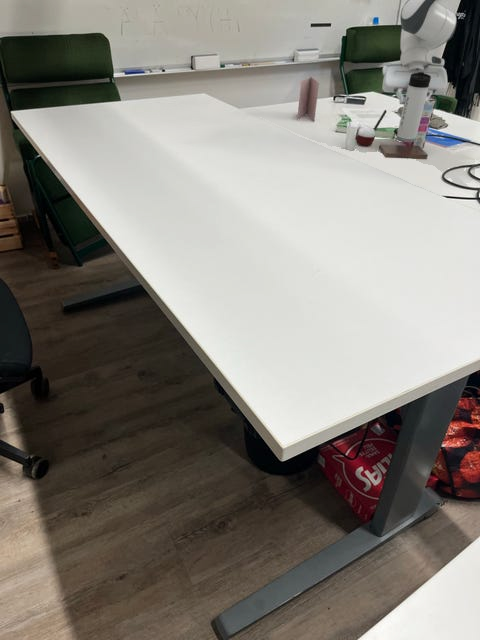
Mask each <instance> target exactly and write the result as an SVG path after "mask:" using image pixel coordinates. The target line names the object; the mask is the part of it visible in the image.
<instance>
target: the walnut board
mask: <svg viewBox="0 0 480 640" xmlns="http://www.w3.org/2000/svg"><path fill="white" fill-rule="evenodd" d="M378 149H379V152H381V154H382V155H383V157H384V158H385V159H386V158H387V159H407V160H408V159H411V160H427V159H428V155H429V154H428V153H426V152H425V150H424V148H423V149H422V148H421V147H420V146H409V145H405V144H384V143H383V144H379V145H378Z"/></svg>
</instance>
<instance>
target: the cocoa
mask: <svg viewBox="0 0 480 640" xmlns="http://www.w3.org/2000/svg"><path fill="white" fill-rule="evenodd" d="M387 112H388V111H387V110H386V109H384V110H383V112H382V114H381V115H380V116H379V117H380V118H379V119H378V120H377V122H376V124H375V125H374V127H370V126H362V127H360V130H359V134H358V137H357V141H356V144H357V145H358V146H360V147H370V146H372V144H373V143H374V141H375V137H376V134H377V131H376V130H377V129H378V127H379V125H380V124H381V122H382V120H383V119H384V117H385V115H386V114H387Z"/></svg>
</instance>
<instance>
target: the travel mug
mask: <svg viewBox="0 0 480 640" xmlns="http://www.w3.org/2000/svg"><path fill="white" fill-rule="evenodd" d="M430 79H431V76H430V75H428V74H424V72H418V73H414V74H411V76H410V82H409V85H408V89H407V93H405V97H406V102H405V104H403V107H402V111H401V114H400V115H401V116H400V120H399V124H398V129H397V134H396V140H398V141H399V142H401V141H402V142H414V141H415V140H416V135H417V132H418V128H419V124H420V120H421V116H422V112H423V108H424V104H425V100H426V96H427V92H428V88H429V83H430ZM402 142H401V143H402Z"/></svg>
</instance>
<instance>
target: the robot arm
mask: <svg viewBox="0 0 480 640" xmlns="http://www.w3.org/2000/svg"><path fill="white" fill-rule="evenodd" d="M441 1H442V0H407V1H406V2H405V3H404V5H403V7H402V8H401V11H400V26H401V32H400V43H399V44H400V46H399V47H400V51H401V54H400V60H399V63H390V62H389V63H387V64H385V65H383V67H382V76H383V80H382V87H381V89H382V91H383V92H384V93H391V94H392V93H393V94H395V96H396V98H397V99H398V100H399V105H404V104H405V102H406V96H404V95H403V94H406V93H407V89H408V85H409V82H410V76H411V74H414V73H418V72H424V74H428V75H430V76H431V79H430V83H429V88H428V92H427V96H426V97H427V98H426V100H425V104H424V105H425V106H427V105H428V104H429V98H431V96H432V95H433V96H434V95H435V96H442V95H443V94H444V93H445V92H446V90H447V88H448V83H449V82H448V74H447V69H445V67H444V66H445V59H444V58H442V57H438V56H436V55H433V54H431V53H430V51H433V50H435V49H437V48H439V47H441V46H442V45H444V44H445V43H447V42H448V41H449V40H451V38H452V37H453V35H454V34H455V31H456V28H457V23H458V21H457V19H458V18H457V16H456V14H455V13H453V12H452V11H451V10H450V9H447V7H445V6H442V5H441V4H439V2H441Z"/></svg>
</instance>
